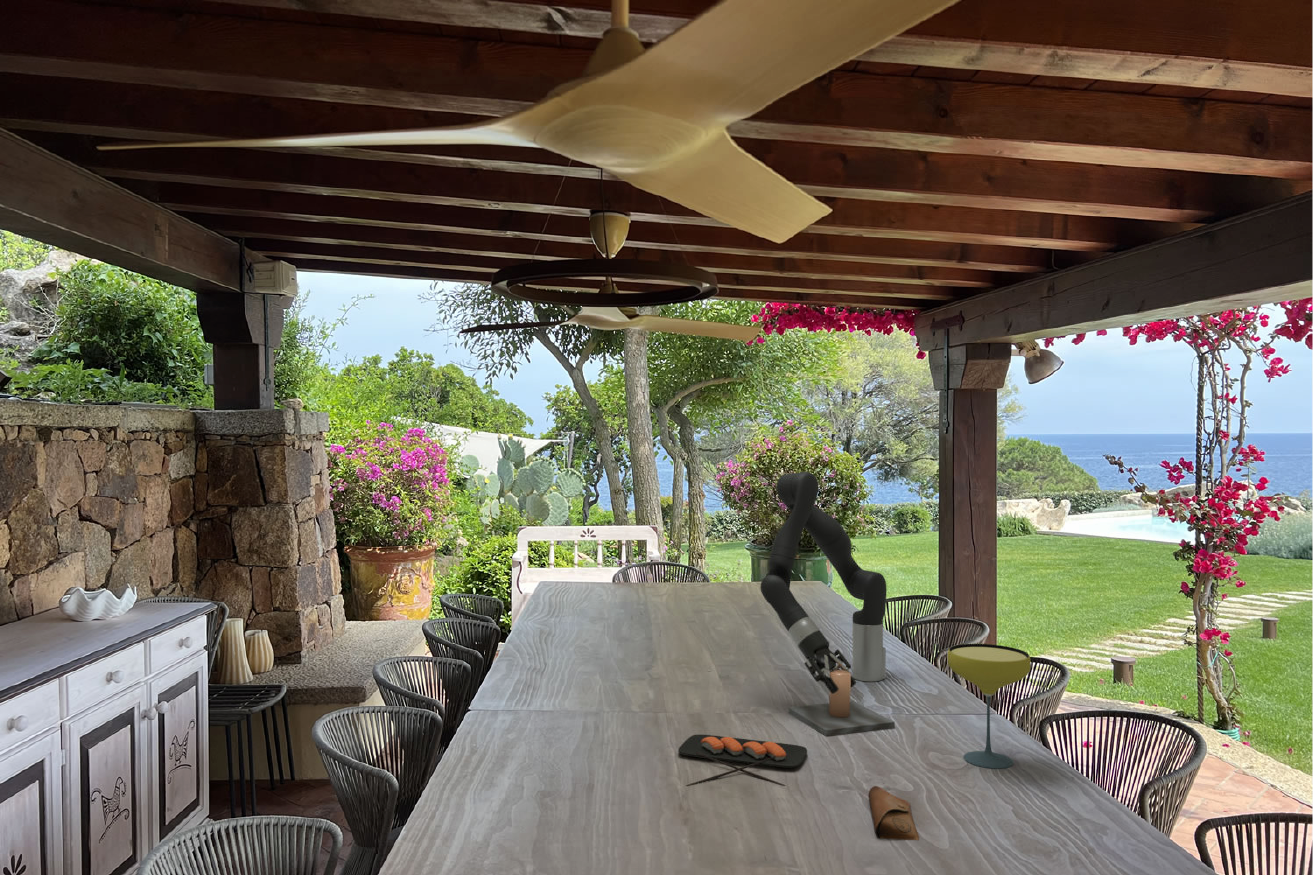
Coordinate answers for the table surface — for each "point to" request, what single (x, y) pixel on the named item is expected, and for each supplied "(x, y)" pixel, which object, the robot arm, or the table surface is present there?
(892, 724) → the charcoal board
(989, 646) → the cocktail glass
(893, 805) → the sunglasses case
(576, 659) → the table surface
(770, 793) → the table surface
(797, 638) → the robot arm
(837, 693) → the tan dome-topped cylinder
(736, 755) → the sushi plate
